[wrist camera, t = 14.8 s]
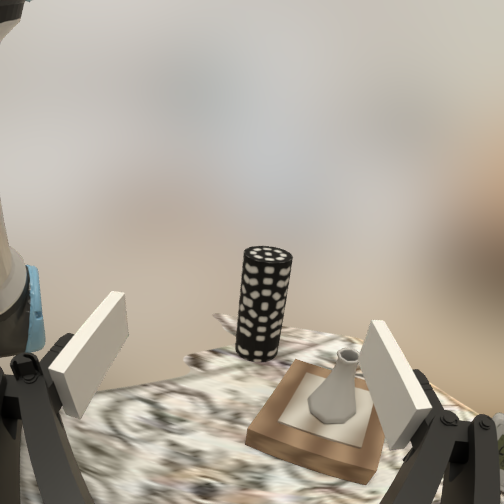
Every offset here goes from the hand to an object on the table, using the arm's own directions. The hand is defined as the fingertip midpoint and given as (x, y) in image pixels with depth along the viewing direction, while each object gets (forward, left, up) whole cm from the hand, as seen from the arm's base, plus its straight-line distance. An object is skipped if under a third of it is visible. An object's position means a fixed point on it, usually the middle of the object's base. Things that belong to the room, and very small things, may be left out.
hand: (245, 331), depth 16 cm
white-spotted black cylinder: (-13, +35, -29) cm, 47 cm away
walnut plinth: (+5, +22, -29) cm, 36 cm away
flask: (+5, +22, -24) cm, 33 cm away
